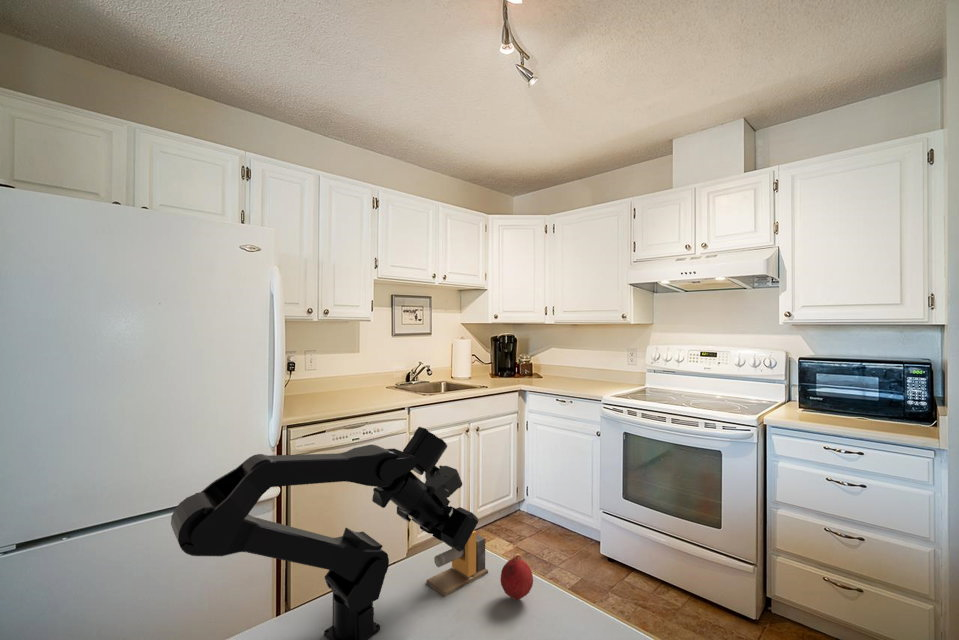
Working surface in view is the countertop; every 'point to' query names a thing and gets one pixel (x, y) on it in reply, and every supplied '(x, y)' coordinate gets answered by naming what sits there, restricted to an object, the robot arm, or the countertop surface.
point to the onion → (516, 578)
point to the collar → (467, 558)
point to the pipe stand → (452, 576)
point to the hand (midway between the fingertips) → (458, 536)
